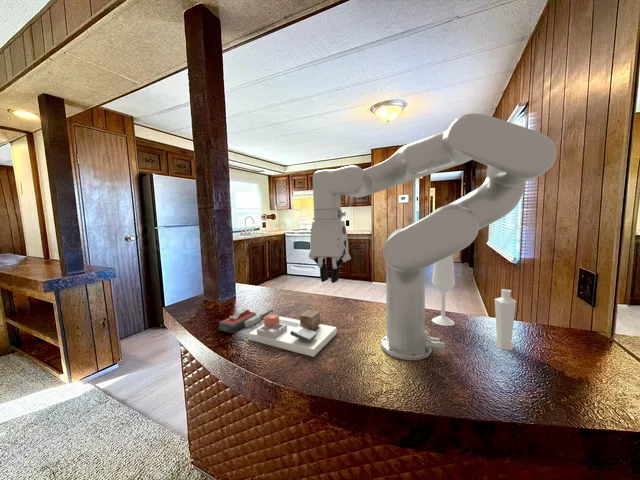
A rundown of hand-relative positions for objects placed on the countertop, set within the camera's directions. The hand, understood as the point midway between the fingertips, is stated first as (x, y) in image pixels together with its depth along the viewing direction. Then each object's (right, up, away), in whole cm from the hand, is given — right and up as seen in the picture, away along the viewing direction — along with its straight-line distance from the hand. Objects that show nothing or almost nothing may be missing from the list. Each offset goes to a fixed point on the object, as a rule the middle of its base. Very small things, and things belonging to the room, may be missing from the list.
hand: (329, 280), depth 72 cm
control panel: (-11, -17, +4) cm, 21 cm away
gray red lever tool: (-28, -17, +16) cm, 37 cm away
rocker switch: (-7, -14, -3) cm, 16 cm away
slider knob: (-6, -14, +5) cm, 16 cm away
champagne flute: (+37, -15, +11) cm, 42 cm away
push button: (-17, -13, +3) cm, 22 cm away
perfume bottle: (+45, -16, -6) cm, 49 cm away
